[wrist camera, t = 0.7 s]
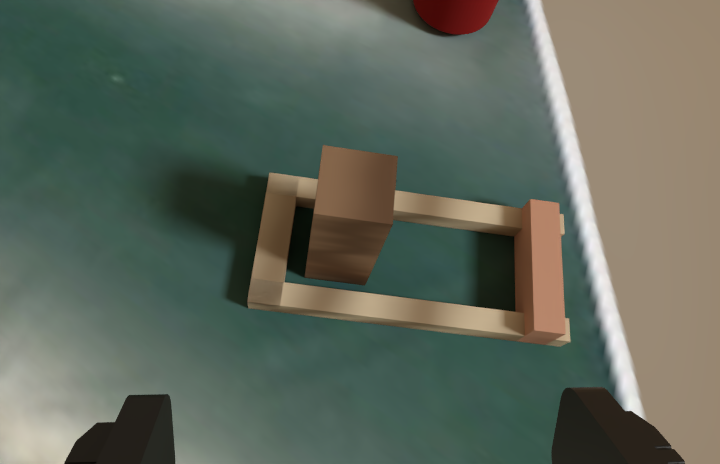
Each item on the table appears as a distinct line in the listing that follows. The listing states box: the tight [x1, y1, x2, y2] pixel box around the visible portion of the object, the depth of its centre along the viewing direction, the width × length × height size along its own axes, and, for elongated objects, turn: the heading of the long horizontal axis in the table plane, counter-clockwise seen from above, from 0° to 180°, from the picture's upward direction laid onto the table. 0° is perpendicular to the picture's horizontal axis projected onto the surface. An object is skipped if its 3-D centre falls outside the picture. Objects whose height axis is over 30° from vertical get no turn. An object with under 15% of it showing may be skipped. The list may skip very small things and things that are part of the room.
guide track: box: [247, 173, 570, 347], centre depth 39 cm, size 20×9×3 cm, turn 85°
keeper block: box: [305, 145, 398, 285], centre depth 35 cm, size 4×4×10 cm
